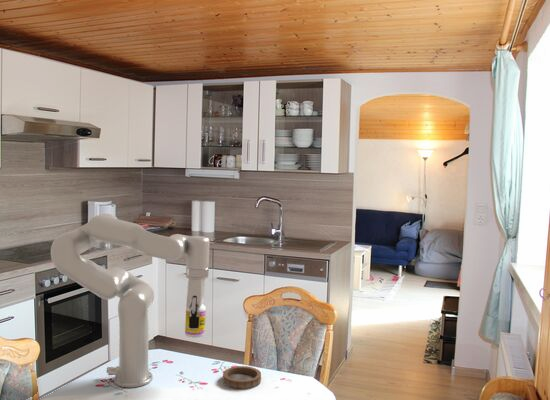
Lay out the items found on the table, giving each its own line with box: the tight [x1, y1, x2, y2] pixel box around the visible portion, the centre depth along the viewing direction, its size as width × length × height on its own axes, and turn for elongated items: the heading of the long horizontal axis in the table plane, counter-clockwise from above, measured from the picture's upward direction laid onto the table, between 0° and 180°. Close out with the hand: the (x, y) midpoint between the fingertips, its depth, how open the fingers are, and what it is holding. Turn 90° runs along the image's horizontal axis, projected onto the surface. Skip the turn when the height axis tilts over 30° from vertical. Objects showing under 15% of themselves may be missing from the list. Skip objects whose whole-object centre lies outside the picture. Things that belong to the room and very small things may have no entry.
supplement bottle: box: [184, 300, 207, 338], centre depth 170 cm, size 7×7×13 cm
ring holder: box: [222, 365, 262, 390], centre depth 172 cm, size 13×13×3 cm
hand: (195, 324), depth 170 cm, fingers closed on supplement bottle, 6 cm apart
